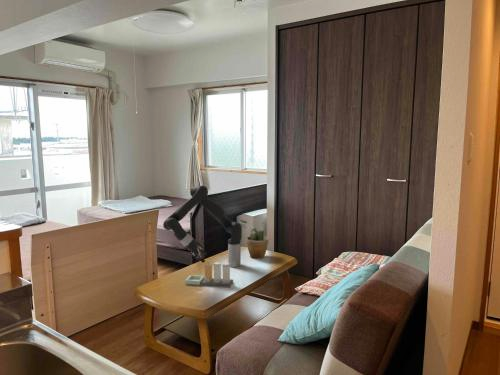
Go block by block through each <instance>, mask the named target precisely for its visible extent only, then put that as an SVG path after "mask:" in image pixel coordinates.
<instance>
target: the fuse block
mask: <svg viewBox="0 0 500 375" xmlns="http://www.w3.org/2000/svg"><path fill="white" fill-rule="evenodd" d="M233 284H234V279H232V278H230V282H229V283H228V280H223V278H221V281H220V282H219V279H214V277H212V281H211V282H210V279H207V278H206V279H204V280H203V281H202V284H201V287H202V286H203V287H205V286H206V287H215V288H231V286H232V285H233Z"/></svg>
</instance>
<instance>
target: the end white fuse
mask: <svg viewBox="0 0 500 375" xmlns="http://www.w3.org/2000/svg"><path fill="white" fill-rule="evenodd" d="M222 279H223V280H228V283H229V282H230V279H231V267H230V263H227V262H224V263H222Z"/></svg>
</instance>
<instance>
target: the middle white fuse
mask: <svg viewBox="0 0 500 375" xmlns="http://www.w3.org/2000/svg"><path fill="white" fill-rule="evenodd" d="M213 278H214V279H219V282H220V281H221V279H222V263H221V262H217V261H216V262H214V263H213Z"/></svg>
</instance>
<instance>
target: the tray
mask: <svg viewBox="0 0 500 375" xmlns="http://www.w3.org/2000/svg"><path fill="white" fill-rule="evenodd" d="M204 279H205V275H200V274H199V275H196V274H190V275H189V276H187V278H186V279H185V280H184V283H185V285H186V286H187V285H188V286H197V287H198V286H200V287H201V286H202V281H203V280H204Z"/></svg>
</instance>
